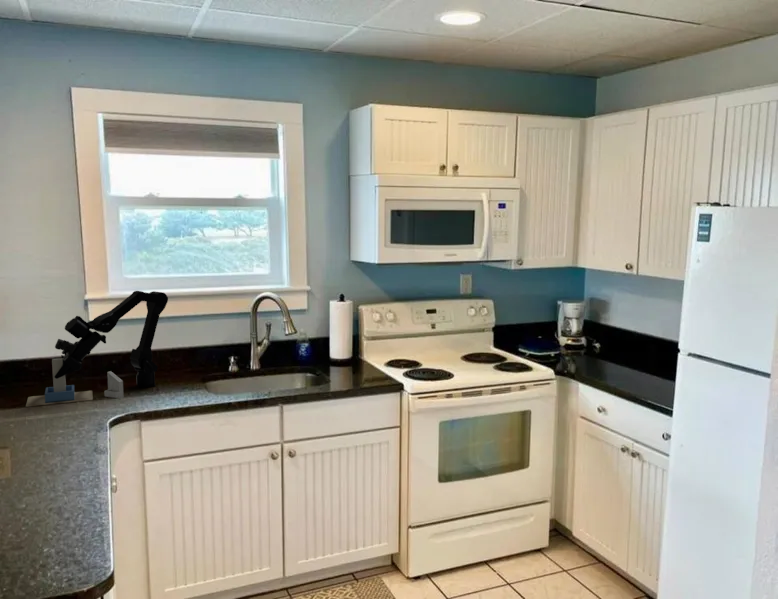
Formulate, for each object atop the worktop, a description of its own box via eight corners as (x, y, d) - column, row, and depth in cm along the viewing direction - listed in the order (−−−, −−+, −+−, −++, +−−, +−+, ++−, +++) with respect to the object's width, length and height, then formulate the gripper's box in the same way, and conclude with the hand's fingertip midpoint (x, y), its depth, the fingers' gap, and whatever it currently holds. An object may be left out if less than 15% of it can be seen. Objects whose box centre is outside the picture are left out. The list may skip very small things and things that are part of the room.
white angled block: (103, 388, 250) (110, 371, 248) (120, 403, 248) (128, 386, 245) (95, 391, 247) (103, 373, 245) (113, 406, 245) (121, 388, 242)
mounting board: (92, 393, 253) (92, 390, 253) (92, 402, 241) (92, 399, 241) (28, 399, 244) (28, 396, 244) (25, 409, 231) (25, 406, 231)
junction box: (74, 393, 249) (74, 384, 248) (74, 400, 240) (73, 390, 240) (46, 396, 245) (46, 387, 244) (45, 403, 236) (44, 393, 236)
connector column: (66, 391, 245) (64, 358, 243) (66, 394, 241) (63, 360, 239) (54, 392, 243) (52, 358, 241) (54, 395, 240) (51, 361, 238)
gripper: (66, 327, 249) (36, 358, 245) (69, 335, 233) (37, 368, 229) (90, 345, 254) (60, 376, 250) (94, 354, 238) (63, 387, 234)
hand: (55, 376), depth 241 cm, fingers closed on connector column, 4 cm apart
